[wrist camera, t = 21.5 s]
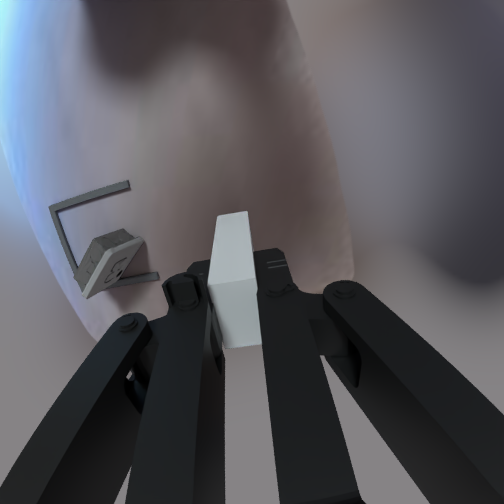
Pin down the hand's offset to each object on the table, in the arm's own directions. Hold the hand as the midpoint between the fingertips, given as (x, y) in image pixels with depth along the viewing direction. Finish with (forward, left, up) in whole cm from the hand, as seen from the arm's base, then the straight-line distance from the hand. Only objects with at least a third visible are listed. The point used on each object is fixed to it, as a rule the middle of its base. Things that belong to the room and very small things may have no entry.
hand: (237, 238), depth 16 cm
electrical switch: (+9, -21, -28) cm, 36 cm away
